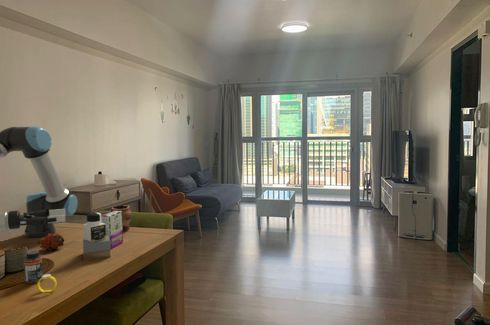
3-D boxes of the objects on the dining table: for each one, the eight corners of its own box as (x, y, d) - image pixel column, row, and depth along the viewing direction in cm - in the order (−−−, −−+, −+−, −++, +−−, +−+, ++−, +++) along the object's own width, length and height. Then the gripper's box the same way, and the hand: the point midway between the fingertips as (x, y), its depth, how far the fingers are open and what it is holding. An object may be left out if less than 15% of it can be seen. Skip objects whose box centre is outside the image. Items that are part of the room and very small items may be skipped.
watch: (37, 294, 126) (35, 278, 126) (40, 291, 129) (38, 275, 128) (55, 292, 127) (53, 275, 127) (58, 288, 130) (56, 272, 129)
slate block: (83, 245, 169) (82, 237, 168) (108, 242, 173) (108, 234, 173) (83, 252, 159) (83, 244, 158) (110, 249, 163) (109, 240, 163)
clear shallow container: (83, 254, 169) (83, 245, 169) (108, 250, 173) (108, 242, 173) (83, 261, 159) (83, 252, 159) (110, 258, 164) (110, 249, 163)
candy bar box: (114, 242, 186) (113, 210, 185) (123, 242, 185) (122, 210, 184) (101, 248, 175) (100, 215, 174) (111, 249, 174) (110, 215, 173)
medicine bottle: (91, 242, 160) (90, 215, 159) (83, 239, 165) (82, 213, 164) (106, 238, 166) (105, 213, 165) (98, 236, 170) (97, 210, 169)
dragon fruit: (66, 252, 175) (40, 257, 174) (68, 238, 182) (43, 243, 180) (60, 241, 170) (32, 246, 168) (62, 227, 176) (36, 232, 174)
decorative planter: (129, 235, 199) (128, 210, 198) (105, 236, 197) (104, 210, 196) (134, 225, 219) (133, 203, 218) (112, 226, 217) (112, 203, 216)
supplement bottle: (30, 278, 140) (28, 249, 139) (46, 277, 140) (44, 249, 139) (21, 284, 134) (20, 254, 133) (38, 284, 134) (37, 254, 133)
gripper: (13, 222, 162) (65, 217, 172) (4, 237, 140) (65, 230, 149) (11, 205, 162) (65, 201, 171) (3, 218, 139) (64, 212, 149)
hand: (65, 214), depth 160 cm, fingers open, 13 cm apart
